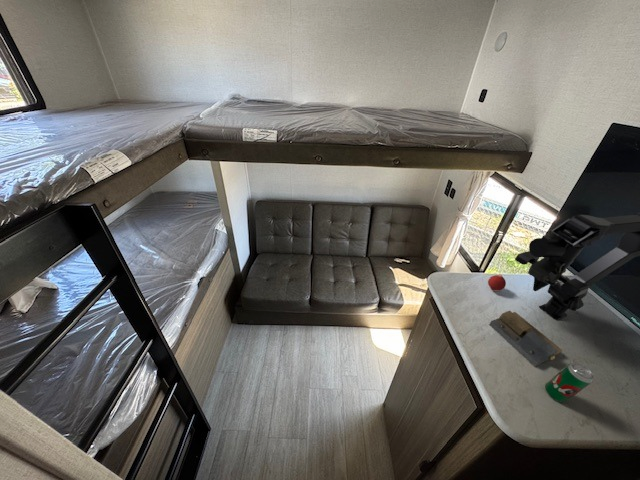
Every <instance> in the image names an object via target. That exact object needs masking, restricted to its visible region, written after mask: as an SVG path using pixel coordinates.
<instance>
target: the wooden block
mask: <svg viewBox="0 0 640 480" xmlns="http://www.w3.org/2000/svg"><path fill="white" fill-rule="evenodd" d="M499 319H500V320H501V321H502V322H503V323H504V324H506V325H507V326H508V327H509V328H510V329H511V330H512V331H514V332H515V333H516V334H517V335H518V336H519V337H521V338H523V337H524V335H525V334H527V333H529V332H531V331H534V332H536V333H537V334H538V335H539V336H540V337H542V338H543V339H544V340H545V341H547V342H548V343H549V344H550V345H552V346H553V347H554V348H555V349H556V350H558V352H557V353H556V354H555V355H553V356H555V357H556V356H559V355H560V354H561V353H562V352H563V350H564V349H562V348H560V347H559V346H558V345H557V344H556V343H554V342H553V341H552V340H551V339H549V338H548V337H547V336H546V335H545V334H543V333H542V332H541V331H539V330H538V328H536V327H535V326H534V325H532V324H531V323H530V322H528V321H527V320H526V319H525V318H523V316H521V315H520V314H518V313H517V312H516V311H513V312H512V311H511V310H508V311H505V312H502V313H501V314H500V316H499Z"/></svg>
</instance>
